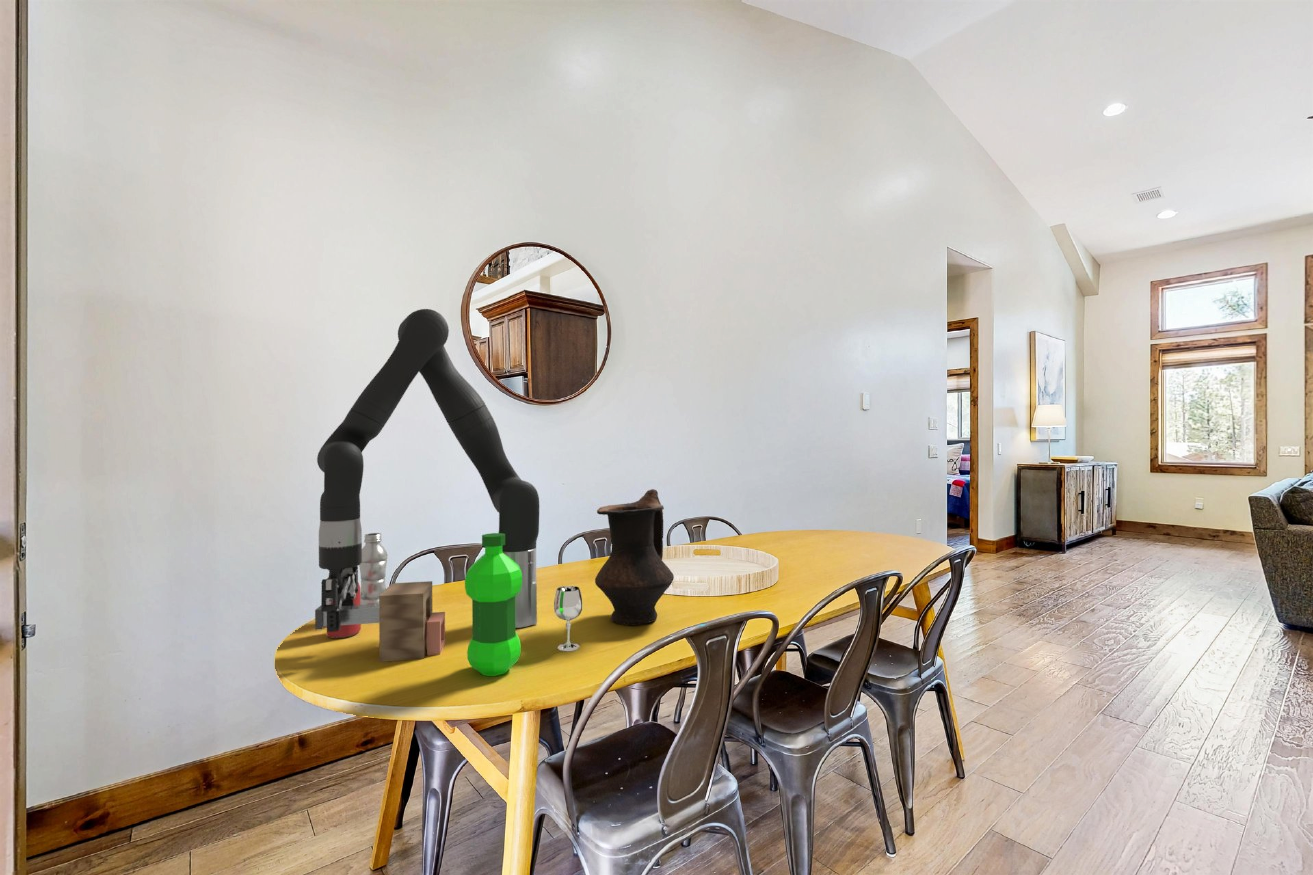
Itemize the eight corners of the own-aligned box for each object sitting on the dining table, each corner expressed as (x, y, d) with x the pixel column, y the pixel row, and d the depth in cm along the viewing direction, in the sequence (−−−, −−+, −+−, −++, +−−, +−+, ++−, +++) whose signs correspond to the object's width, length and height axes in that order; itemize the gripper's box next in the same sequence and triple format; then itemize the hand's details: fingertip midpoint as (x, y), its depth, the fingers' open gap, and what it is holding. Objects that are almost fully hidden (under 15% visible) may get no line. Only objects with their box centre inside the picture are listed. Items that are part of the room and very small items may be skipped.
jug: (648, 638, 125) (647, 497, 125) (578, 624, 134) (578, 494, 134) (692, 612, 143) (691, 489, 143) (628, 602, 153) (627, 487, 153)
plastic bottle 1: (369, 622, 137) (368, 537, 137) (352, 618, 140) (352, 534, 140) (394, 615, 142) (393, 533, 142) (377, 611, 146) (377, 531, 146)
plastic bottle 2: (500, 655, 115) (499, 528, 115) (534, 668, 109) (533, 534, 109) (454, 671, 108) (453, 535, 108) (487, 686, 101) (487, 541, 101)
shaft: (419, 617, 121) (418, 598, 121) (415, 622, 117) (415, 603, 117) (322, 623, 117) (322, 604, 117) (315, 629, 113) (315, 609, 113)
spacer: (445, 643, 123) (445, 611, 123) (440, 654, 116) (439, 621, 116) (433, 644, 122) (432, 612, 122) (427, 655, 116) (427, 622, 116)
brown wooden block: (432, 641, 124) (432, 581, 124) (423, 658, 114) (423, 593, 114) (392, 643, 122) (391, 583, 122) (379, 661, 113) (379, 595, 113)
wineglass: (559, 654, 116) (559, 593, 116) (550, 645, 121) (550, 587, 121) (586, 649, 119) (586, 590, 119) (577, 640, 124) (576, 583, 124)
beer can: (346, 640, 125) (345, 584, 125) (319, 638, 126) (319, 582, 126) (367, 630, 131) (367, 576, 131) (341, 628, 133) (341, 575, 133)
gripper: (349, 547, 110) (350, 634, 110) (371, 535, 124) (371, 612, 124) (305, 549, 108) (306, 637, 108) (332, 537, 122) (332, 615, 122)
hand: (341, 624), depth 116 cm, fingers open, 8 cm apart
